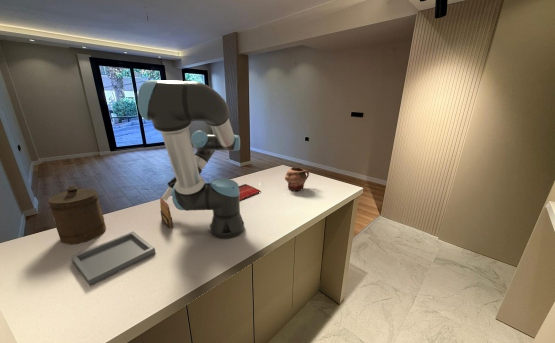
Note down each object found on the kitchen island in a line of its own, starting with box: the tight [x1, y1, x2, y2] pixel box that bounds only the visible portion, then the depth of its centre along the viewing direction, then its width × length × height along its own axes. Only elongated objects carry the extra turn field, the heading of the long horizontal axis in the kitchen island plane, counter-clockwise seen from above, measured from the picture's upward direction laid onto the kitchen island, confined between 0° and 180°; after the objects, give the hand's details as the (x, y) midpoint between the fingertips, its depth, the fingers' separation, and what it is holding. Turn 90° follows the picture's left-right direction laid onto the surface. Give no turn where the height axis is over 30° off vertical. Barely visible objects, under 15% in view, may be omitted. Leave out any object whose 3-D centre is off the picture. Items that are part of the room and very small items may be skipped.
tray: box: [70, 231, 156, 287], centre depth 81 cm, size 18×20×2 cm
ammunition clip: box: [159, 197, 174, 229], centre depth 102 cm, size 11×2×12 cm, turn 43°
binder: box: [239, 183, 262, 202], centre depth 140 cm, size 16×2×21 cm
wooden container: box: [48, 185, 107, 245], centre depth 91 cm, size 15×15×22 cm
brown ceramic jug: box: [284, 167, 310, 191], centre depth 149 cm, size 20×12×14 cm, turn 130°
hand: (171, 203), depth 105 cm, fingers open, 13 cm apart
